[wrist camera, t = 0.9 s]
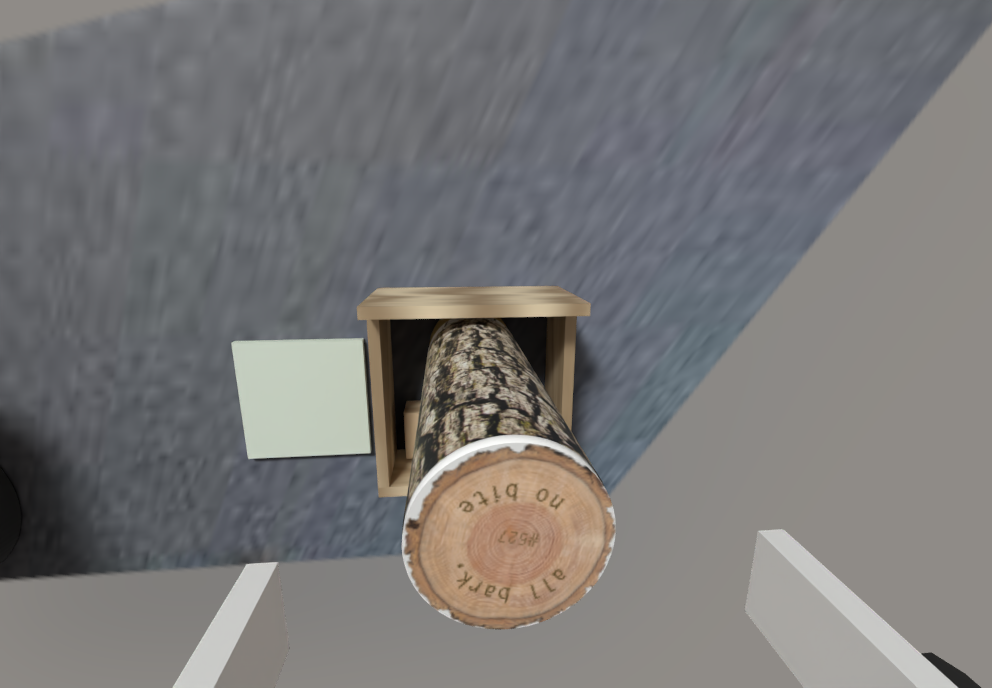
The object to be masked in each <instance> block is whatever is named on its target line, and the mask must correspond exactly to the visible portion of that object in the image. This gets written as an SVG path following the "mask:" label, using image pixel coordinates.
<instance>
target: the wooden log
mask: <svg viewBox="0 0 992 688" xmlns="http://www.w3.org/2000/svg"><path fill="white" fill-rule="evenodd" d="M615 530H616V525H615V515H614V510H613V506H612V503H611V500H610V497H609V495H608V493H607V491H606V489H605V487H604V485H603V483H602V481H601V479H600V478H599V476H598V474H597V473H596V471H595V469H594V468H593V466H592V464H591V463H590V461H589V460H588V458H587V456H586V455H585V453H584V451H583V450H582V448H581V447H580V445H579V443H578V442H577V440H576V438H575V437H574V435H573V433H572V432H571V430H570V429H569V427H568V425H567V424H566V422H565V420H564V419H563V417H562V416H561V414H560V412H559V411H558V409H557V407H556V406H555V404H554V402H553V401H552V399H551V398H550V396H549V394H548V393H547V391H546V389H545V388H544V386H543V385H542V383H541V381H540V380H539V378H538V376H537V375H536V373H535V371H534V370H533V368H532V367H531V365H530V363H529V362H528V360H527V358H526V357H525V355H524V354H523V352H522V350H521V349H520V347H519V345H518V344H517V342H516V340H515V339H514V337H513V336H512V334H511V332H510V331H509V330H508V328H507V326H506V325H505V323H504V322H503V321H502V319H501V318H500V317H497V318H441V319H440V320H439V321H438V322H437V324H436V325H435V327H434V329H433V331H432V334H431V337H430V343H429V348H428V355H427V362H426V368H425V375H424V382H423V389H422V396H421V403H420V410H419V417H418V424H417V431H416V438H415V444H414V451H413V458H412V465H411V472H410V479H409V486H408V493H407V500H406V507H405V514H404V520H403V532H402V554H403V560H404V564H405V568H406V570H407V574H408V576H409V578H410V580H411V582H412V584H413V585H414V587H415V588H416V590H417V592H418V593H419V594H420V595H421V596H422V597H423V599H424V600H425V601H427V602H428V603H429V604H430V605H431V606H432V607H433V608H435V609H436V610H437V611H438V612H440V613H442V614H443V615H445V616H447V617H449V618H451V619H453V620H455V621H457V622H461V623H463V624H466V625H470V626H474V627H479V628H485V629H512V628H520V627H525V626H529V625H533V624H537V623H540V622H542V621H545V620H548V619H550V618H552V617H554V616H556V615H558V614H560V613H562V612H563V611H565V610H567V609H568V608H570V607H571V606H573V605H574V604H575V603H577V602H578V601H579V600H580V599H581V598H583V597H584V596H585V595H586V594H587V593H588V592H589V591H590V589H591V588H592V587H593V586H594V585H595V584H596V582H597V581H598V579H599V578H600V576H601V575H602V573H603V572H604V570H605V568H606V566H607V564H608V561H609V559H610V556H611V553H612V550H613V546H614V541H615Z"/></svg>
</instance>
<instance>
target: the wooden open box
mask: <svg viewBox="0 0 992 688" xmlns="http://www.w3.org/2000/svg"><path fill="white" fill-rule="evenodd" d="M590 305H591V304H590V303H589V302H587V301H585V300H583V299H581V298H579V297H577V296H575V295H573V294H572V293H570V292H568V291H566V290H564V289H562V288H560V287H558V286H516V287H422V288H378V289H376V290H375V291H374V292H373V293H372V294H371V295H370V296H369V297H367V298H366V299H365V300H364V301H363V302H362V303H361V304H360V305H359V306H357V315H358V320H367V332H368V346H369V361H370V375H371V390H372V404H373V419H374V433H375V448H376V462H377V477H378V492H379V497H394V496H407V493H408V486H409V479H410V472H411V465H412V459H406V449H401V450H397V435H396V417H395V399H394V381H393V363H392V345H391V327H390V319H440V318H497V317H547V337H546V369H545V389H546V391H547V393H548V394H549V396H550V398H551V399H552V401H553V402H554V404H555V406H556V407H557V409H558V411H559V412H560V414H561V416H562V417H563V419H564V420H565V422H566V424H567V425H568V427H569V429H570V430H571V425H572V404H573V383H574V362H575V341H576V320H577V316H590Z"/></svg>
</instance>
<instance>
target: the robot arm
mask: <svg viewBox="0 0 992 688" xmlns="http://www.w3.org/2000/svg"><path fill="white" fill-rule="evenodd" d="M20 528H21V510H20V505H19V501H18V498H17V495H16V492H15V490H14V488H13V486H12V484H11V482H10V481H9V479H8V478H7V476H6V475H5V473H4V472H3V471H2V470H1V468H0V563H2V562H3V561H4V560H5V559H6V558H7V556H8V555H9V554H10V553H11V551H12V549H13V548H14V546H15V544H16V542H17V539H18V537H19V533H20ZM278 567H279V566H278V562H273V563H258V564H247V565H246V566H245V568H244V570H243V571H242V573H241V575H240V577H239V578H238V580H237V581H236V583H235V585H234V586H233V588H232V590H231V591H230V593H229V595H228V596H227V598H226V599H225V601H224V603H223V605H222V606H221V608H220V609H219V611H218V613H217V614H216V616H215V618H214V619H213V621H212V623H211V624H210V626H209V628H208V629H207V631H206V633H205V635H204V636H203V638H202V639H201V641H200V643H199V644H198V646H197V648H196V649H195V651H194V653H193V655H192V656H191V658H190V659H189V661H188V663H187V664H186V666H185V668H184V670H183V671H182V673H181V674H180V676H179V678H178V680H177V681H176V683H175V684H174V686H173V688H275V686H276V683H277V680H278V678H279V675H280V672H281V670H282V667H283V665H284V662H285V659H286V657H287V654H288V651H289V649H290V647H289V640H288V632H287V625H286V618H285V611H284V603H283V596H282V589H281V581H280V574H279V568H278ZM745 612H746V613H747V614H748V615H749V617H750V618H751V619H752V621H753V622H754V623H755V625H756V626H757V627H758V629H759V630H760V631H761V632H762V634H763V635H764V636H765V638H766V639H767V640H768V642H769V643H770V644H771V645H772V647H773V648H774V649H775V651H776V652H777V653H778V654H779V656H780V657H781V658H782V660H783V661H784V662H785V664H786V665H787V666H788V668H789V669H790V670H791V671H792V673H793V674H794V675H795V677H796V678H797V679H798V680H799V682H800V683H801V684H802V686H803V687H804V688H981V687H980V686H979V685H978V684H976V683H975V682H974V681H973V680H972V679H970V678H969V677H968V676H967V675H966V674H965V673H963V672H961V671H960V670H958V669H957V668H955V667H954V666H952V665H950V664H949V663H947V662H945V661H944V660H942V659H941V658H939V657H938V656H936V655H934V654H933V653H922V654H921V653H919V652H918V651H917V650H916V649H915V648H914V647H913V646H911V645H910V644H909V643H908V642H907V641H906V640H905V639H904V638H903V637H902V636H901V635H899V634H898V633H897V632H896V631H895V630H894V629H893V628H892V627H890V625H888V624H887V623H886V622H885V621H884V620H883V619H882V618H881V617H880V616H879V615H877V614H876V613H875V612H874V611H873V610H872V609H871V608H869V606H867V605H866V604H865V603H864V602H863V601H862V600H861V599H860V598H859V597H858V596H856V595H855V594H854V593H853V592H852V591H851V590H850V589H849V588H848V587H846V586H845V585H844V584H843V583H842V582H841V581H840V580H839V579H838V578H836V577H835V576H834V575H833V574H832V573H831V572H830V571H829V570H828V569H827V568H825V567H824V566H823V565H822V564H821V563H820V562H819V561H818V560H817V559H816V558H814V557H813V556H812V555H811V554H810V553H809V552H808V551H807V550H806V549H804V548H803V547H802V546H801V545H800V544H799V543H798V542H797V541H796V540H795V539H793V538H792V537H791V536H790V535H789V534H788V533H787V532H786V531H785V530H783V529H782V530H766V531H758V535H757V541H756V547H755V553H754V559H753V565H752V571H751V577H750V583H749V589H748V596H747V601H746V607H745Z"/></svg>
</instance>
